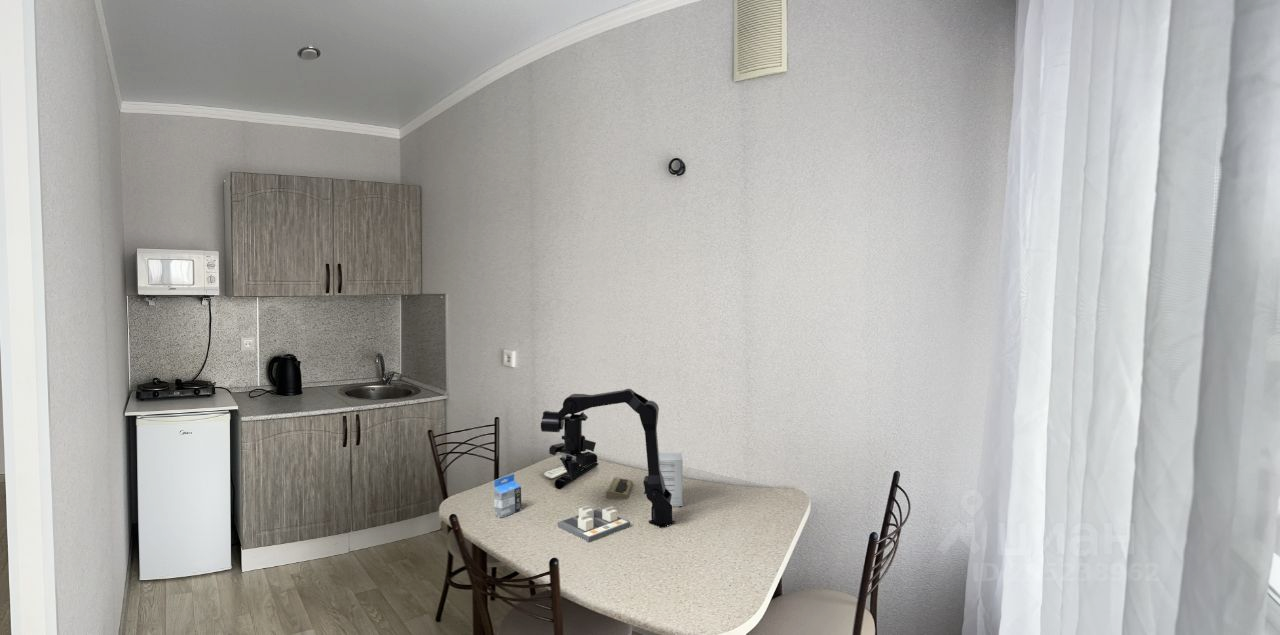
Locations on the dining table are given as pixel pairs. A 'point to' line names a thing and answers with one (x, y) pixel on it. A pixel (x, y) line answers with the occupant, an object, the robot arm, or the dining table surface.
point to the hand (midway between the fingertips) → (572, 479)
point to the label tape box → (507, 496)
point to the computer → (619, 488)
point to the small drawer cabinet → (672, 475)
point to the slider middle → (586, 511)
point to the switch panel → (594, 526)
